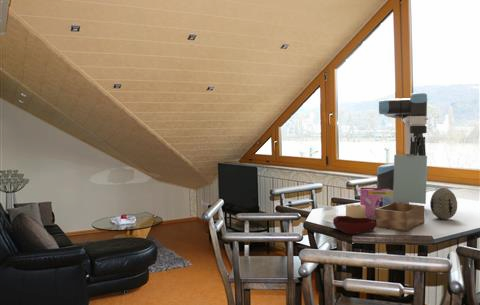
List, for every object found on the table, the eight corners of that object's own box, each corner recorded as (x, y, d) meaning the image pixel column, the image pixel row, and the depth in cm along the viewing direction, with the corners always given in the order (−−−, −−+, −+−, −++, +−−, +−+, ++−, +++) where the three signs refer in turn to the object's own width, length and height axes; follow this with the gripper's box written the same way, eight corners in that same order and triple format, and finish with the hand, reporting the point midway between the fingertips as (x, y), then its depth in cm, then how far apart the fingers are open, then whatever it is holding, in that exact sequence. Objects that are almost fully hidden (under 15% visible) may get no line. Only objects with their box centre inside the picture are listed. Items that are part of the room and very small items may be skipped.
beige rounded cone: (342, 220, 202) (342, 205, 202) (351, 217, 209) (351, 203, 208) (360, 223, 196) (360, 207, 196) (368, 220, 203) (368, 205, 202)
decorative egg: (462, 221, 198) (463, 189, 198) (438, 222, 197) (438, 189, 197) (448, 216, 210) (448, 186, 209) (425, 216, 209) (425, 186, 208)
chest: (374, 227, 188) (374, 209, 187) (394, 219, 204) (394, 202, 204) (406, 231, 179) (406, 212, 178) (424, 223, 195) (424, 205, 195)
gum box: (409, 215, 213) (410, 188, 212) (411, 218, 205) (411, 190, 204) (360, 213, 220) (360, 187, 219) (359, 216, 212) (360, 189, 211)
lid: (393, 153, 203) (395, 153, 204) (392, 200, 203) (393, 200, 204) (425, 154, 193) (427, 154, 194) (424, 204, 193) (425, 203, 195)
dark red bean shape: (327, 233, 178) (327, 221, 177) (337, 225, 192) (337, 214, 192) (370, 238, 170) (371, 225, 169) (378, 229, 184) (378, 218, 184)
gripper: (418, 125, 195) (417, 174, 196) (433, 125, 211) (432, 170, 212) (402, 125, 200) (401, 173, 201) (417, 125, 216) (417, 170, 217)
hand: (417, 171), depth 207 cm, fingers open, 8 cm apart
